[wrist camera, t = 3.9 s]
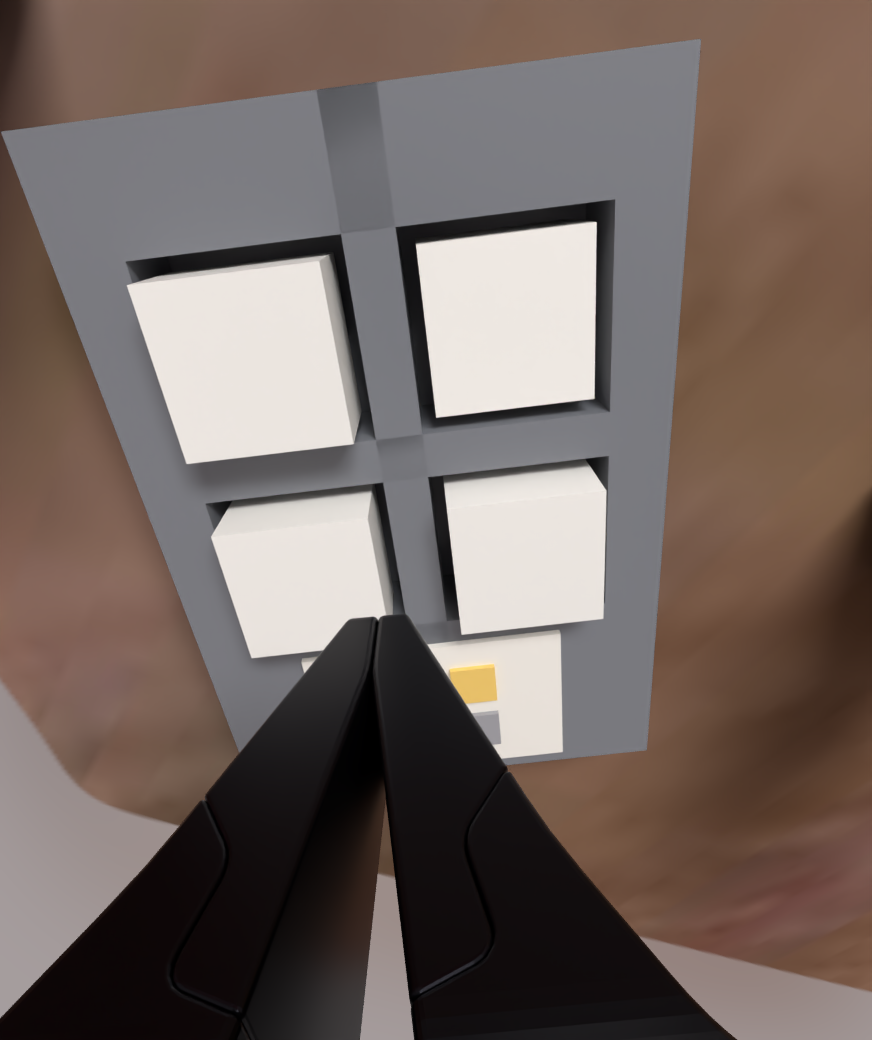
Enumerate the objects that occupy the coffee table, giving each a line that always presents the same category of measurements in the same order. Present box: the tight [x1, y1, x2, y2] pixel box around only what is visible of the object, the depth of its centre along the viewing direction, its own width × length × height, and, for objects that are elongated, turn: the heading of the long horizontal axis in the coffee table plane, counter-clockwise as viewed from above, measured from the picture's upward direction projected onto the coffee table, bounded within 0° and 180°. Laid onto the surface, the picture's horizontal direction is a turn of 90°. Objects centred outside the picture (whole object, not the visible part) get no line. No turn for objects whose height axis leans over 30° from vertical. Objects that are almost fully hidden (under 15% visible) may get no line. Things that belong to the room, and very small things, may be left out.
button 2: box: [211, 484, 394, 658], centre depth 17 cm, size 4×4×2 cm
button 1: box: [127, 252, 362, 464], centre depth 14 cm, size 4×4×2 cm
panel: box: [1, 39, 701, 765], centre depth 18 cm, size 14×20×4 cm
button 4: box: [443, 459, 606, 635], centre depth 17 cm, size 4×4×2 cm
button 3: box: [415, 219, 597, 418], centre depth 15 cm, size 4×4×2 cm
